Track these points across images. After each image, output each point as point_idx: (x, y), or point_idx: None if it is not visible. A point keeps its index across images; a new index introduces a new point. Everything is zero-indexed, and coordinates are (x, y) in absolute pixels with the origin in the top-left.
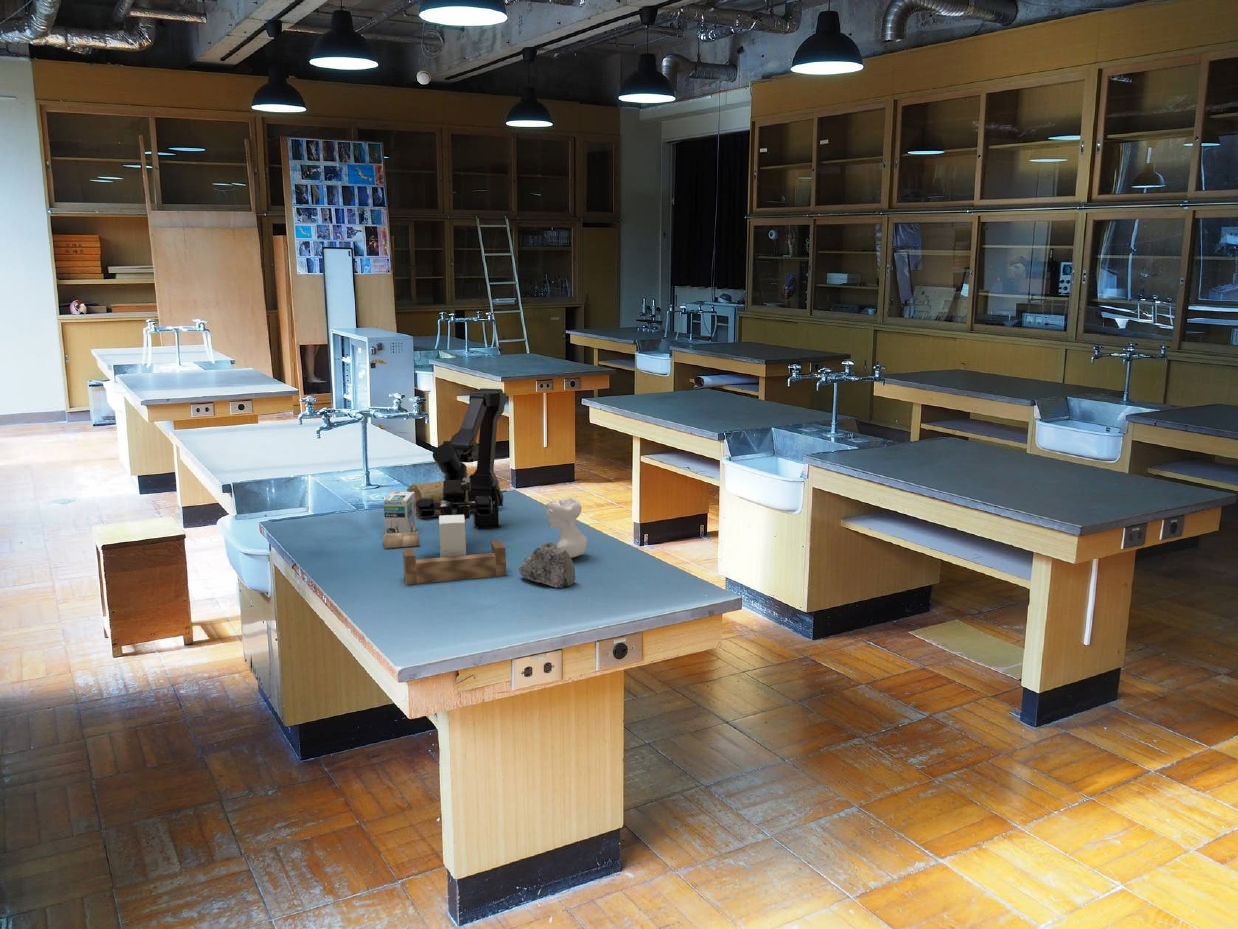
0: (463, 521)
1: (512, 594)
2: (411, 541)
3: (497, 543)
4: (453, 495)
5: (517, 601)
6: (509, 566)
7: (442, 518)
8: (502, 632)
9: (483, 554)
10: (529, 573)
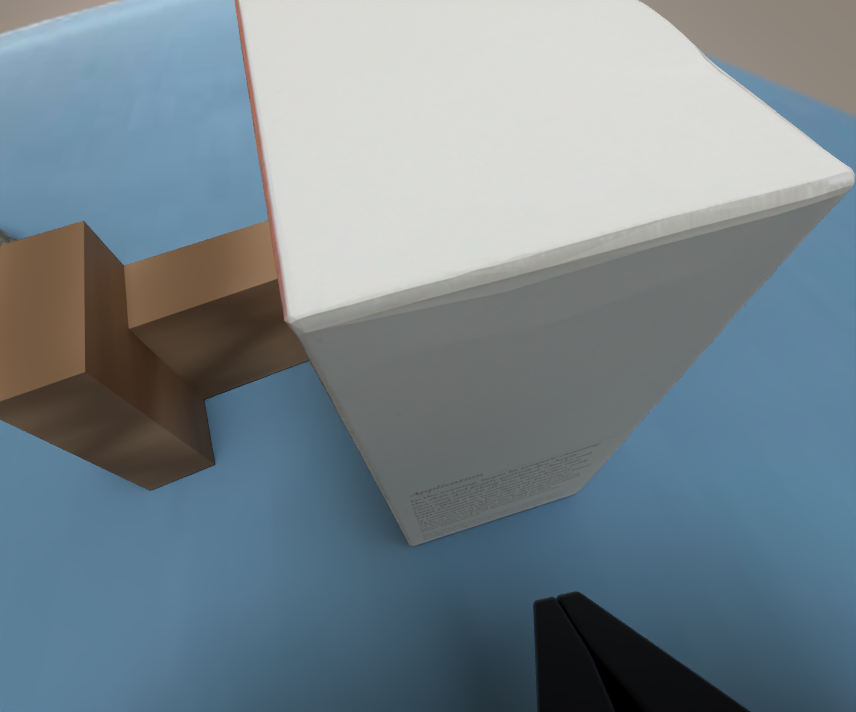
0: (257, 8)
1: (144, 173)
2: None
3: (38, 323)
4: None
5: (136, 131)
6: (92, 535)
7: (644, 51)
8: (200, 7)
9: (207, 288)
10: (3, 233)
